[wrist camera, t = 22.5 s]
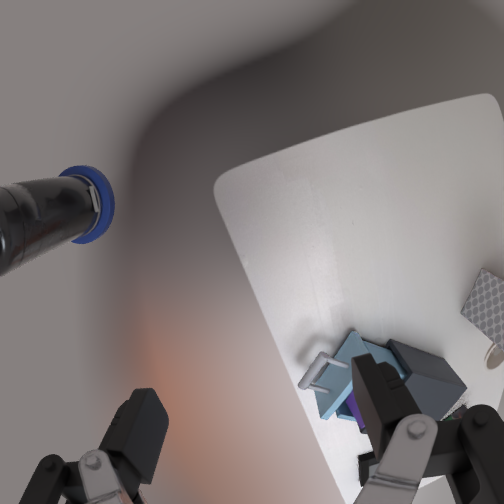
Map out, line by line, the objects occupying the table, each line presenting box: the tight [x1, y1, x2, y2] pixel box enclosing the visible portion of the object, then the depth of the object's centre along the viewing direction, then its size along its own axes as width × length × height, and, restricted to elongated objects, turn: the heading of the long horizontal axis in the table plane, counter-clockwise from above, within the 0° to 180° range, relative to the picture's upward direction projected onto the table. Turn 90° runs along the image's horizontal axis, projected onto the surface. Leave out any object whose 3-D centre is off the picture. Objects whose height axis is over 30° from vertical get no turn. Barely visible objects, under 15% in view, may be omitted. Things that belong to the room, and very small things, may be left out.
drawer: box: [298, 331, 407, 422], centre depth 39 cm, size 18×11×7 cm, turn 66°
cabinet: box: [358, 339, 467, 434], centre depth 40 cm, size 15×13×9 cm
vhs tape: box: [359, 451, 380, 487], centre depth 51 cm, size 8×14×2 cm, turn 16°
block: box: [346, 390, 365, 428], centre depth 35 cm, size 4×4×5 cm
